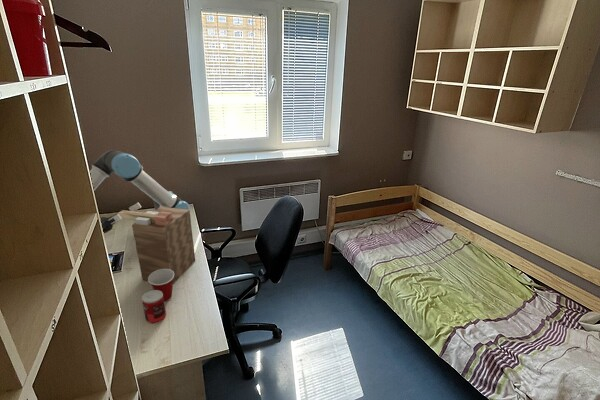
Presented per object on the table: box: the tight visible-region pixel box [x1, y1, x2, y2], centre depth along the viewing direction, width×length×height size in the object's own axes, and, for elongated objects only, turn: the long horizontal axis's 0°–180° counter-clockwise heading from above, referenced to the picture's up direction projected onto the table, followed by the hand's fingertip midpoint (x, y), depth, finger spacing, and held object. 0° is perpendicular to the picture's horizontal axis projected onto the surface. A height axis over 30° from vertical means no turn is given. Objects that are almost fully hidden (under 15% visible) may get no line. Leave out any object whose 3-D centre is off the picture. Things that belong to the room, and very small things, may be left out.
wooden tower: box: [131, 207, 196, 285], centre depth 162 cm, size 22×16×30 cm
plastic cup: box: [147, 269, 174, 303], centre depth 145 cm, size 11×11×12 cm
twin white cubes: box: [134, 210, 159, 226], centre depth 152 cm, size 9×6×2 cm, turn 168°
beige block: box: [118, 209, 173, 226], centre depth 152 cm, size 6×25×4 cm, turn 78°
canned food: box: [141, 289, 167, 324], centre depth 134 cm, size 8×8×11 cm
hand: (130, 210), depth 153 cm, fingers open, 13 cm apart
